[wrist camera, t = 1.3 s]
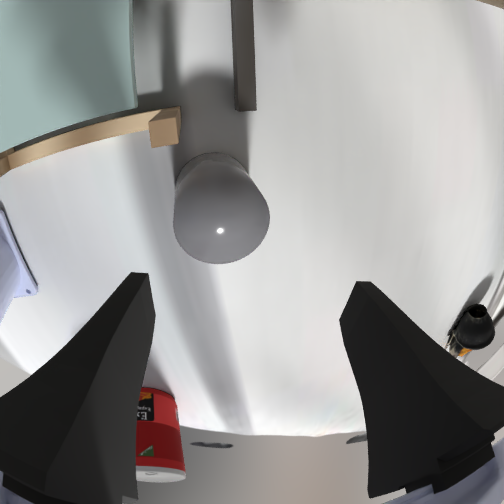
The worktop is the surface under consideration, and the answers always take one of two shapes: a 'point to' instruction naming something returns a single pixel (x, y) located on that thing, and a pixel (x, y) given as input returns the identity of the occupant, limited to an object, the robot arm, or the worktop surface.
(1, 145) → the teal flat panel
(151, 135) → the toy chair
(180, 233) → the grey matte cylinder
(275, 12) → the worktop surface
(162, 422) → the canned food
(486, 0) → the plant pot
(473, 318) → the black hollow cone
